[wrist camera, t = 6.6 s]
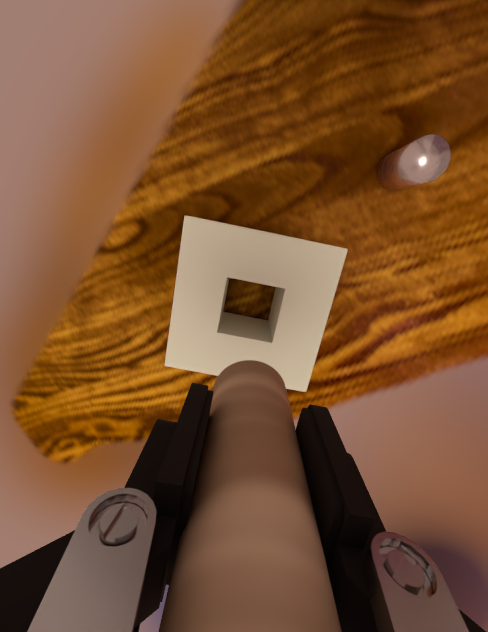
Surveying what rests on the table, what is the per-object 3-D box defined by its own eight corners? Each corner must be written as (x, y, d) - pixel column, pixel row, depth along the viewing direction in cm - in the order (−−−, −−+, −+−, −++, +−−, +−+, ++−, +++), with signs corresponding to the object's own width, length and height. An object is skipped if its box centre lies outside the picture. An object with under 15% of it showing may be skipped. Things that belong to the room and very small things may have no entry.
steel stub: (383, 148, 25) (415, 130, 20) (418, 155, 25) (457, 139, 21) (372, 186, 26) (400, 177, 21) (405, 193, 26) (440, 186, 21)
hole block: (198, 217, 27) (184, 215, 21) (327, 244, 28) (347, 249, 22) (180, 339, 30) (164, 365, 25) (295, 361, 31) (306, 392, 25)
